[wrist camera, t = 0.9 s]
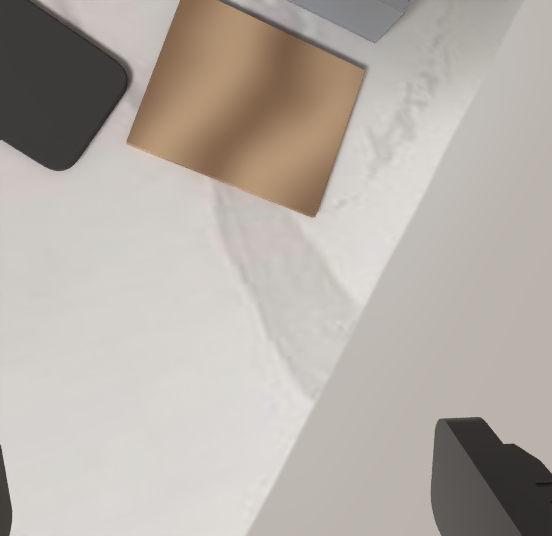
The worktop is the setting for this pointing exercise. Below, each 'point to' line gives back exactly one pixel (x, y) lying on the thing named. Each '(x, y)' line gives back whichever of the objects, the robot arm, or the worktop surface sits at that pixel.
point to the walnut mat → (246, 105)
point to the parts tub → (358, 14)
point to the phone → (52, 86)
